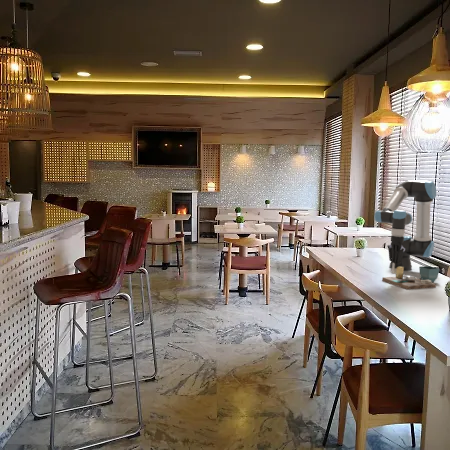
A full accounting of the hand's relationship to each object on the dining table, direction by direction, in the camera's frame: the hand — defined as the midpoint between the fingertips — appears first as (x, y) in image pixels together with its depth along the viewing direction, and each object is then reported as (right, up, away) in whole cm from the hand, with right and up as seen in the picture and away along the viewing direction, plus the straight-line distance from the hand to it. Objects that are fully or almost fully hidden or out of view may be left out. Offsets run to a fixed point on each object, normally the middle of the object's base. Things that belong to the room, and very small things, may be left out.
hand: (394, 273), depth 294 cm
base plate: (+9, -7, +2) cm, 12 cm away
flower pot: (+26, -7, +12) cm, 29 cm away
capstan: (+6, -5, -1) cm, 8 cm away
